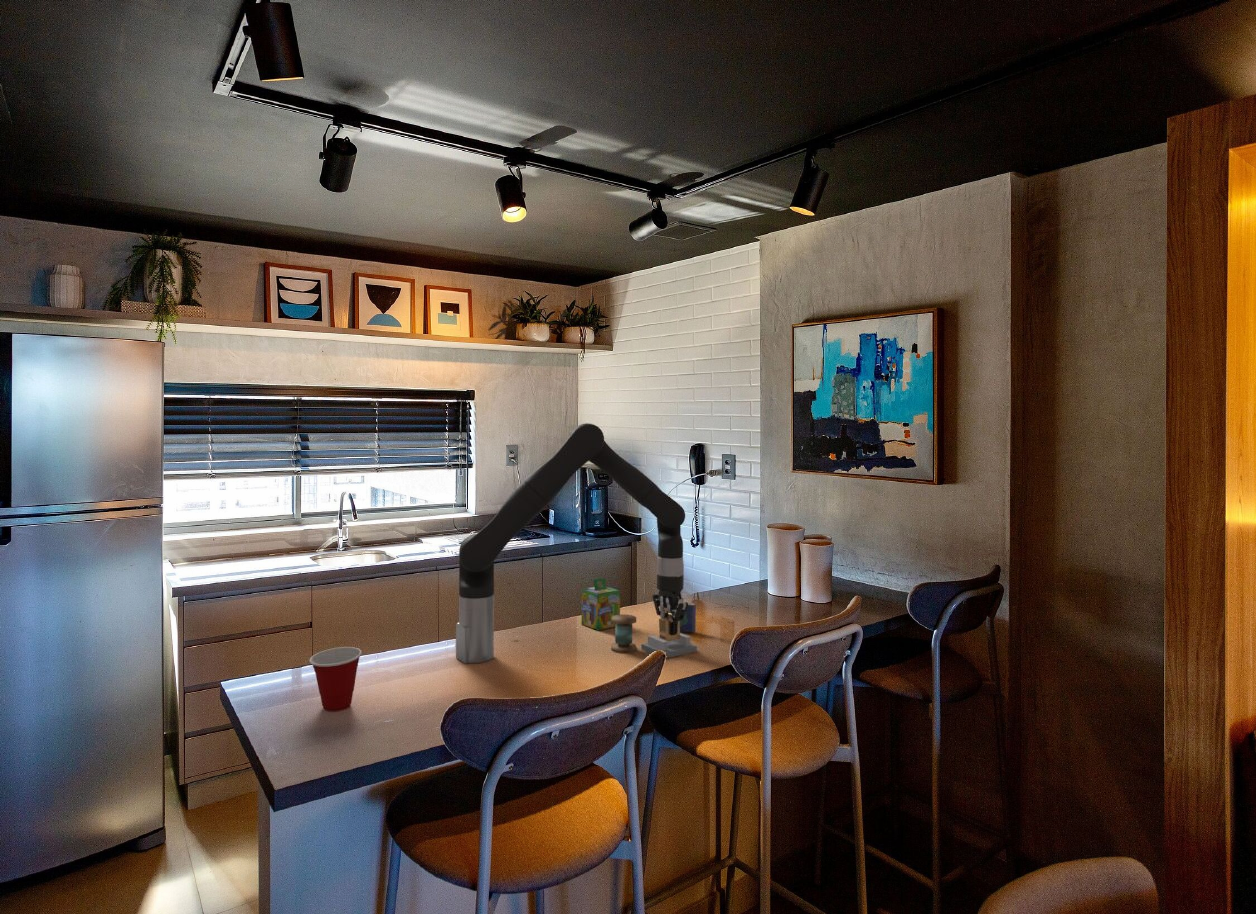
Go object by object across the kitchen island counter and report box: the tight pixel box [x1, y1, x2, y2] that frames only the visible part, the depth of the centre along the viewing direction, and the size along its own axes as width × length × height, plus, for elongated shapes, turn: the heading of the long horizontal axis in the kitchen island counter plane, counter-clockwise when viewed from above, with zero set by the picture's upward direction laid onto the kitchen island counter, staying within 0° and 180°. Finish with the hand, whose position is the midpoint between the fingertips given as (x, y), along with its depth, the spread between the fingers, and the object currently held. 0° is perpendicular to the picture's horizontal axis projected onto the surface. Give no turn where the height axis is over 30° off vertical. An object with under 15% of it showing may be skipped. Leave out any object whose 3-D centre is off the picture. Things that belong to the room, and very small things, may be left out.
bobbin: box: [610, 613, 637, 654], centre depth 209 cm, size 7×7×9 cm
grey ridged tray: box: [640, 633, 698, 659], centre depth 209 cm, size 12×10×4 cm
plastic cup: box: [309, 646, 362, 713], centre depth 164 cm, size 11×11×12 cm
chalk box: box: [580, 577, 621, 631], centre depth 234 cm, size 9×9×15 cm
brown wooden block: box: [658, 616, 680, 642], centre depth 209 cm, size 5×3×6 cm, turn 125°
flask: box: [672, 596, 697, 635], centre depth 228 cm, size 9×3×11 cm, turn 68°
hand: (669, 633), depth 209 cm, fingers closed on brown wooden block, 2 cm apart
